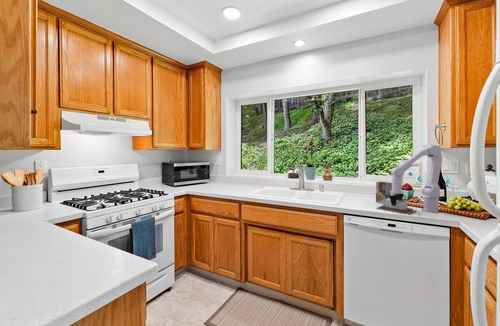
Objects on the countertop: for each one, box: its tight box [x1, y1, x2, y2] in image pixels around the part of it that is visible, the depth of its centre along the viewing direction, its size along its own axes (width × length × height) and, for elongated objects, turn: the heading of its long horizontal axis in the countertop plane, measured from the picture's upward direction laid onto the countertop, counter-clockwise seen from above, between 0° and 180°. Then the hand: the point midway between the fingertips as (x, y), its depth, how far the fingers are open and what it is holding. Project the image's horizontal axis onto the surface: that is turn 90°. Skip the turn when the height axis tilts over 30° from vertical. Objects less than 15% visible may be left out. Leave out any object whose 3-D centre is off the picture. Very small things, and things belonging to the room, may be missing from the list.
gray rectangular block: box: [384, 199, 408, 210], centre depth 164 cm, size 5×12×7 cm, turn 37°
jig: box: [376, 204, 417, 215], centre depth 164 cm, size 13×20×2 cm, turn 37°
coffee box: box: [375, 181, 392, 205], centre depth 185 cm, size 9×6×16 cm
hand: (396, 204), depth 164 cm, fingers open, 7 cm apart
